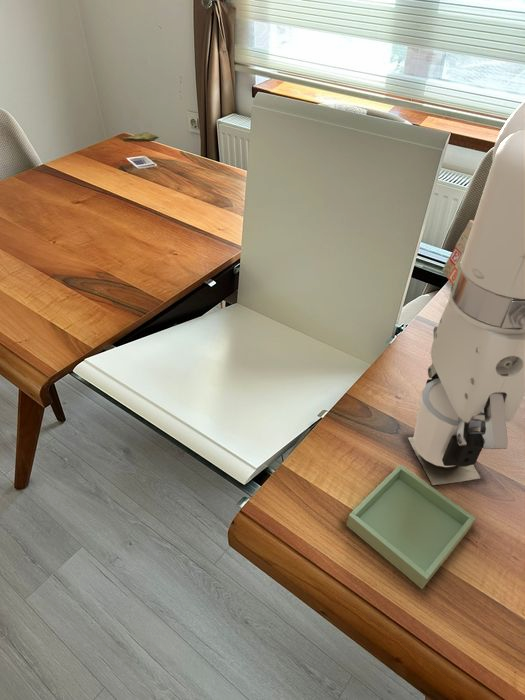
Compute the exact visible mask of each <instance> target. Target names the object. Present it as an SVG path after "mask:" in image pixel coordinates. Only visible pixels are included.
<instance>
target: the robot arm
mask: <svg viewBox="0 0 525 700" xmlns="http://www.w3.org/2000/svg"><path fill="white" fill-rule="evenodd" d="M491 159H492V160H491V161H492V163H491V166H490V168H489V173H488V175H487V178H486V181H485V185H484V188H483V190H482V194H481V196H480V197H481V198H480V200H479V203H478V207H477V209H476V212H475V216H474V219H473V221H474V222H473V225H472V228H471V231H470V234H469V237H468V240H467V244H466V247H465V250H464V253H463V256H462V259H461V263H460V266H459V269H458V272H457V275H456V278H455V281H454V284H452V286H451V287H452V288H451V290H450V294H449V298H448V300H447V303H446V304H445V307H444V310H443V312H442V315H441V317H440V320H439V322H438V325H437V326H434V328H433V339H432V340H433V341H432V345H431V350H430V358H431V361H432V362H431V365H430V366H428V368H427V376H428V378H429V379H427V380H426V383H425V385H426V384H427V383H429V382H431V381H433V380H434V379H437V378H439V379H440V381H441V383H442V385H443V387H444V390H445V392H446V394H447V396H448V398H449V400H450V402H451V404H452V406H453V408H454V410H455V412H456V414H457V415H458V416H459V418H458V428H457V435H453V436H452V437H451V439H450V441H449V444H448V446H447V449H446V451H445V454H444V456H443V459H442V461H443V464H444V466H460V467H463V466H469V465H473V466H474V465H475V464H476V462H477V460H478V459H479V456H480V454H481V453H482V450H483V449H484V450H507V448H508V446H509V442H508V441H509V440H508V431H507V423H509V422H511V421H512V419H513V418H514V417H515V415H516V413H517V411H518V409H519V407H520V405H521V403H522V400H523V398H524V395H525V100H523V102H522V103H521V104H520V105H519V106H518V107H516V109H515V110H514V112H512V114H511V115H510V116H509V118H508V119H507V120H506V121H505V123H504V125H503V127H502V128H501V130H500V131H499V133H498V136H497V138H496V140H495V143H494V147H493V149H492V158H491ZM483 409H484V410H483ZM470 421H481V428H480V432H479V431H474V432H469V424H470Z"/></svg>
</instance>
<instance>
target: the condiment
mask: <svg viewBox="0 0 525 700" xmlns="http://www.w3.org/2000/svg"><path fill="white" fill-rule="evenodd" d="M407 439H408V441H409V443H410V445H411V447H412V449H413V451H414V453H415V456H416V458H417V459H418V461H419V463H420V464H421V466H422V468H423V470H424V472H425V474H426V476H427V478H428V479H429V481H430V483H431V486H437V485H439V486H440V485H446V484H455V483H462V482H467V481H473V480H479V479H481V475H480V474H479V472H478V470H477V469H476V467H475V465H474V464H473V465H469V466H463V467H460V466H451V467H443V466H437V465H434V464H432V463H430V462H428V461H426V460H425V459H424V458H423V457H422V456H421V455H419V454H418V452H417V450H416V448H415V447H414V436H409V437H407Z"/></svg>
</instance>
